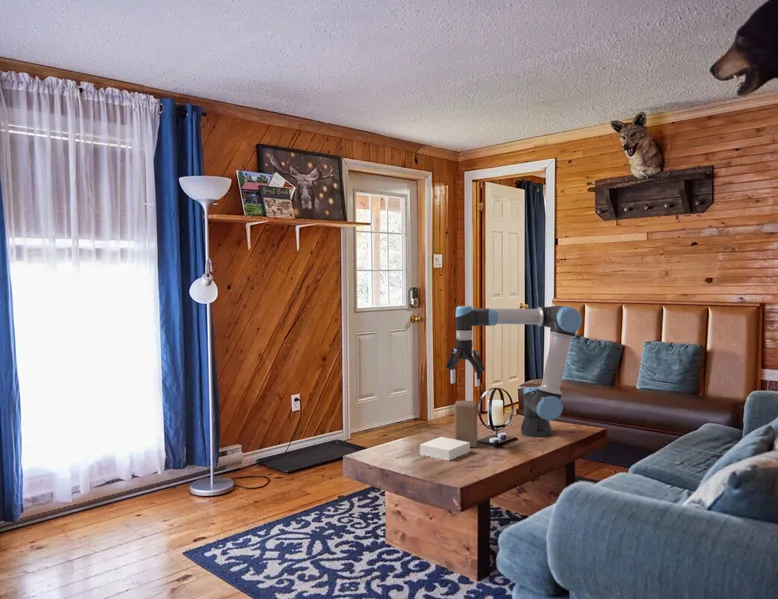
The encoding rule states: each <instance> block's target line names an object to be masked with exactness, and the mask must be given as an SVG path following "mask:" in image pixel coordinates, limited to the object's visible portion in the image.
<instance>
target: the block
mask: <svg viewBox="0 0 778 599" xmlns="http://www.w3.org/2000/svg"><path fill="white" fill-rule="evenodd" d="M453 406H454V408H453V410H454V439H455V440H460V441H465V442H470V447H475V448H477V447H478V403H477V401H475V400H456V401H455V404H454V405H453Z"/></svg>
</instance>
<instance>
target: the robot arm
mask: <svg viewBox="0 0 778 599" xmlns="http://www.w3.org/2000/svg"><path fill="white" fill-rule="evenodd" d="M582 323H583V317H582V315H581V313H580V312H579V310H578V309H576V308H574V307H571V306H567V305H566V306H564V305H553V306H539V307H537V308H479V307H472V306H470V305H460V306H456V308H455V334H456V335H455V338H456V341H455V343H456V344H455V345H456V346H455V347H456V348H451V349H450V354H449V357H448V360H447V362H446V365H445V368H446V369H448V370H449V376H450V384H455V383H456V369H455V367H456V366H457V364H458V363H459V362H460V360H467V361H468V362H469V363H470V364H471V366H472V367H473V369H474V370H475V371H474V387H479V386H480V385H481V384H480V383H481V381H480V379H481V378H482V372H484V371H485V370H486V369H485V367H484V364H483V362H482V359H481V357H480V354H479V350H477V349H476V350H473V346H474V345H473V327H488V326H489V327H492V326H493V327H494V326H496V325H537V326H538V327H542V328H543V327H544V328H545V327H546V328H550V329H549V333H550V334H551V340H550V345H549V349H548V354H547V358H546V364H545V366H544V372H543V377H542V381H541V383H540V385H539V386H530V387H528V386H527V387H525V388H523V420H522V424H521V426H520V434H522V435H524V436H526V437H537V438H539V437H543V438H544V437H548V436H551V435H552V434H553V429H552V425H551V421H553V420H556V419H558V418H559V417H560V415H561V414H562V413H563V409H564V406H563V401H562V400H561V399H562V396H563V393H562V390H561V384H562V380H563V375H564V372H565V371H564V370H565V366H566V362H567V359H568V358H567V357H568V352H569V349H570V345H571V344H570V343H571V340H573V339H575V337H576V333H577V331H578V330H580V328H581V326H582V325H583V324H582ZM456 354H457V355H456Z"/></svg>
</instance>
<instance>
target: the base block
mask: <svg viewBox="0 0 778 599" xmlns="http://www.w3.org/2000/svg"><path fill="white" fill-rule="evenodd" d="M468 452H470V453H471V448H470V442H465V441H460V440H455V438H450V437H449V438H448V437H444V436H440V437H436V438H434V439H430V440H429V441H425V442H423V443H420V444H419V455H420V456H424V455H425V457H428V456H430V458H433V457H434V459H437V458H439V459H438V460H442V459H444V460H443V461H446V460H448V461H447V462H450V461H449V460H451V461H453V460H455V459H457V458H456V457H458V456H460V457H462V456H461V455H463V454H465V453H467V454H469V453H468ZM465 455H466V454H465ZM463 456H464V455H463ZM454 458H455V459H454ZM458 458H459V457H458ZM452 459H453V460H452Z"/></svg>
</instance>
